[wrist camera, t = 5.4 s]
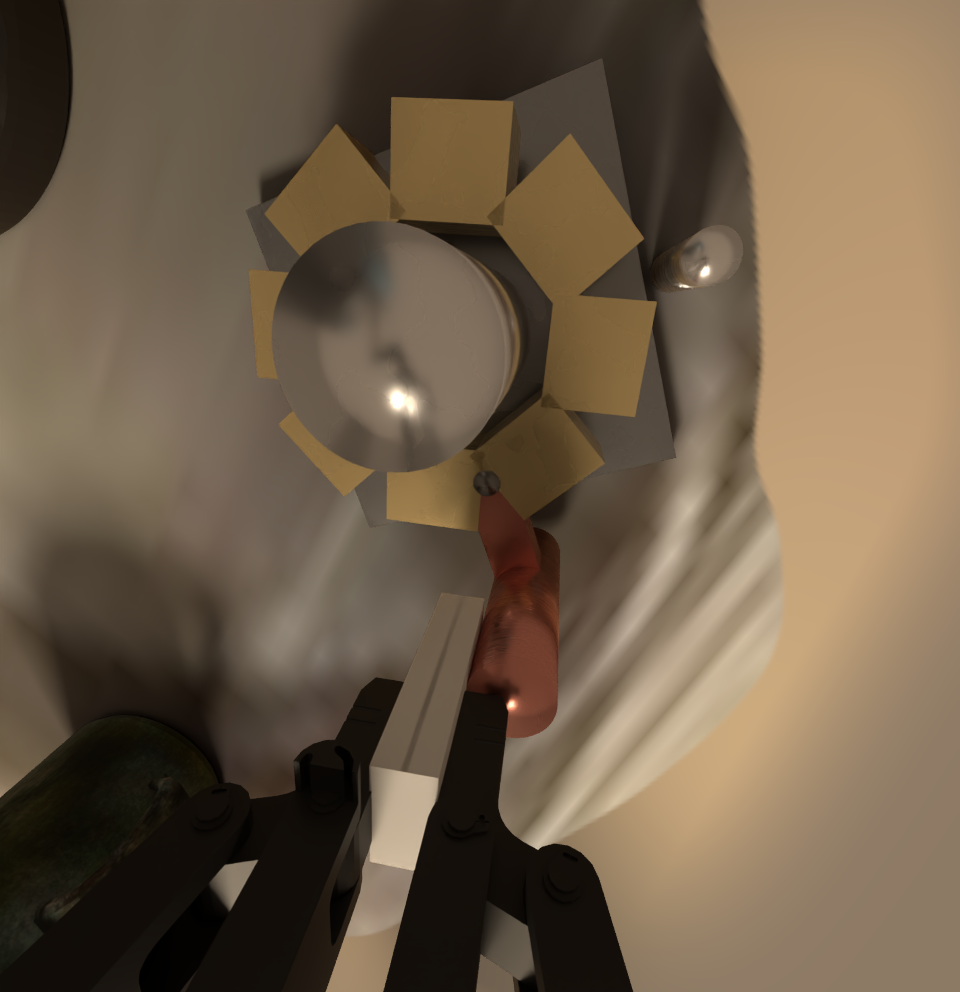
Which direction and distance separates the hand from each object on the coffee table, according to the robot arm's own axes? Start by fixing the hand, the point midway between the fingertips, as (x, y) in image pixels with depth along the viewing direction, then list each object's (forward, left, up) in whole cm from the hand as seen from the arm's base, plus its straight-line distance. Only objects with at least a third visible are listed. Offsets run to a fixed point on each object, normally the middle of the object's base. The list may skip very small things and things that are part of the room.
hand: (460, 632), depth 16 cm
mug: (+10, -24, -7) cm, 27 cm away
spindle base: (-9, +2, -7) cm, 11 cm away
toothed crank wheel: (-7, +2, -6) cm, 9 cm away
